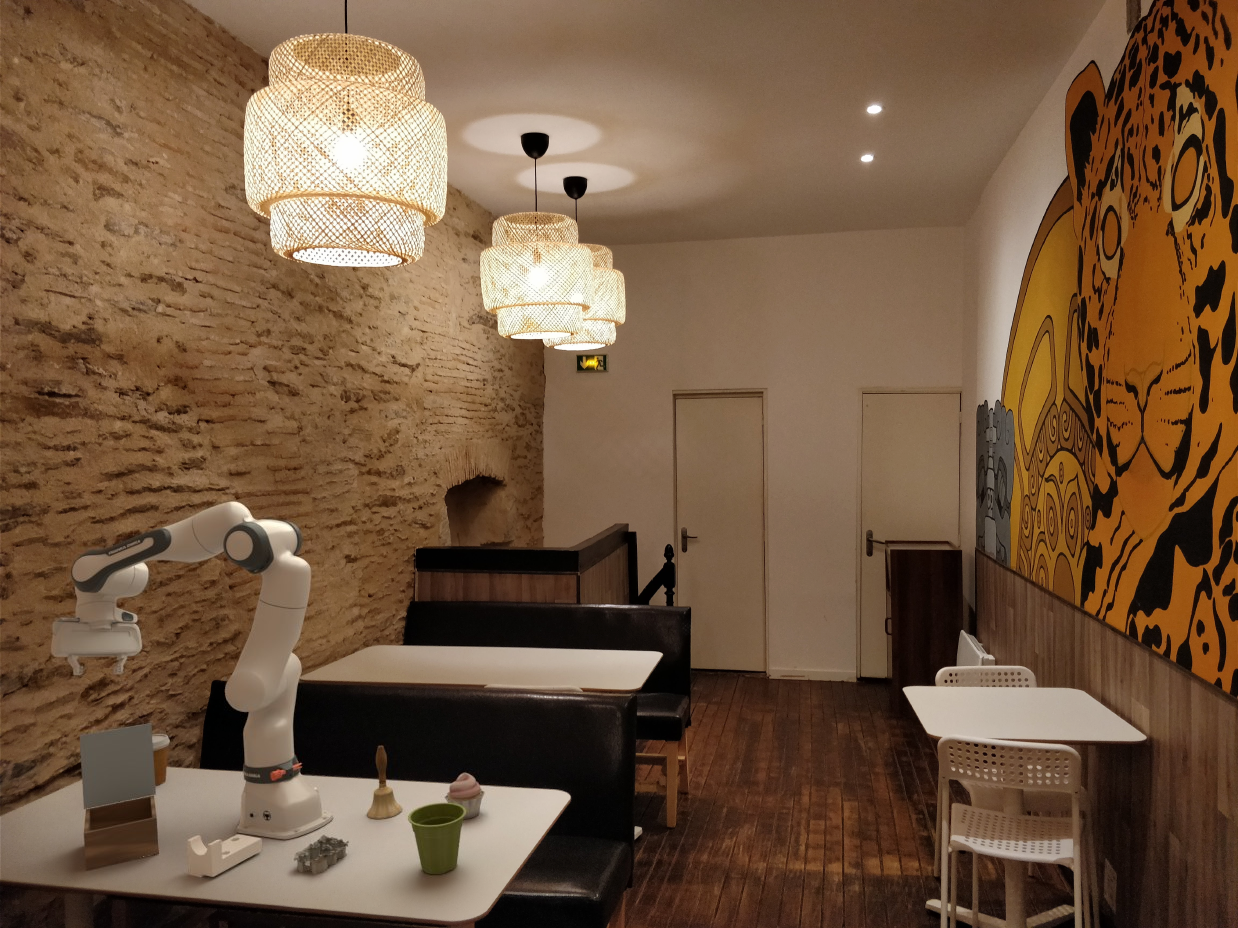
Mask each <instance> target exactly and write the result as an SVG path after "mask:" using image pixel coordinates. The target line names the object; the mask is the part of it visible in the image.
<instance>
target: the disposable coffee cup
mask: <svg viewBox="0 0 1238 928" xmlns="http://www.w3.org/2000/svg"><path fill="white" fill-rule="evenodd" d="M152 742H153V758H154V773H155V787H156V786H160V785H162V784H164V783H166V780H167V769H168V754H169V745H170V742H171V740H170V738H169V736H168V735H167V734H163V733H157V734H155V733H154V734H152Z"/></svg>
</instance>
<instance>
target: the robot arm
mask: <svg viewBox="0 0 1238 928" xmlns="http://www.w3.org/2000/svg"><path fill="white" fill-rule="evenodd" d="M303 541H304V540H303V534H302V532H301V530H300V528H299V527H298V526H297V525H296V524H295V523H292V522H290V521H288V520H284V519H282V518H281V519H279V518H269V517H268V518H267V517H263V518H262V519H256V518H254V517H253V516H252V513H251V512H250V510H249V508H247V507H246V505H244V504H243V503H240V502H239V501H228V502H223V503H220V504H217V505H214V506H212V507H209V508H207V509H204V510H202V511H200V512H198V513H195V514H194V515H192V516H189V517H188V518H184V519H183V520H180V521H178V522H175V523H173V524H169V525H166V526H163V527H161V528H156V529H153V530H151V531H148V532H145V533H141V534H138V535H137V536H134V537H131V538H129V539H127V540H124V541H122V542H119V543H117V544H116V543H115V544H114V545H112V546H109V547H106V548H102V549H89V550H86V551H85V552H83V553H82V554H81V555H79V556H78V557H77V558H76V559H75V560H74V562H73V563H72V566H71V570H70V577H71V580H72V583H73V584H74V593H75V595H76V604H75V617H58V618H56V619H55V620H53V621H52V624H51V633H52V637H51V638H52V639H51V645H50V654H51V655H52V656H53V657H55V658H66V657H67V663H68V664H69V665H70V666H71V669H72V670H73V671H72V672H73V673H72V674H73V676H81V675H83V674H84V665H80V663H79V662H78V659H79V658H81V657H82V658H83V657H84V658H85V657H86V658H87V657H94V658H95V657H99V658H100V657H116V660H117V661H118V663H117V665H115V666H113V667H112V670H113V672H112V673H113V674H114V675H121V674H123V672H124V665H125V663H126V662H127V660H128V657H133V656H136V655H137V654H139V653H140V652H141V651H142V648H143V642H142V634H141V631H140V628H139V626H138V625H137V624H136V623H137V622H138V615H137V614H135V613H132V612H129V611H127V610H124V609H121V608H119V607H117V600H118V599H121V598H123V599H124V598H126V599H127V598H132V597H137V596H139V595H140V594H142V593H143V592H144V591H145V590H146V589H147V587H148V585H149V583H150V582H149V581H150V577H151V575H150V570H149V567H148V565H147V564H146V562H150V561H174V562H183V563H198V562H203V561H206V560H209V559H211V558H213V557H216V556H218V555H220V554H221V553H223V552H224V554H225V556H226V558H227V559H228V560H229V561H230V562H231V563H232V564H234V565H236V566H238V567H241V568H242V569H244V570H246V571H247V572H248V573H250V574H252V575H258V574H260V575H261V579H262V584H261V589H260V592H259V593H260V594H259V597H258V600H257V605H256V609H255V612H254V613H255V614H254V618H253V622H252V627H251V630H250V632H249V635H248V637H247V640H246V642H245V644H244V647H243V649H242V651H241V653H240V656H239V659H238V661H237V663H236V666H235V668H234V669H233V672H232V674H231V675H230V677H229V679H228V680H227V681H226V683H225V689H224V693H225V694H224V695H225V698H226V701H227V702H228V704H229V705H230V707H232V708H233V709H234V710H236V711H239V712H244V713H247V712H248V716H247V718H246V719H247V720H246V722H245V725H244V728H243V733H242V736H243V748H244V749H243V751H244V762H243V765H242V766H243V767H242V773H243V780H244V782H245V783H244V787H243V790H242V792H241V801H240V823H239V824H238V826H237V827H236V832H237V833H239V834H243V835H245V834H246V835H251V836H259V837H266V838H271V839H276V840H277V839H279V840H290V839H293V838H298V837H300V836H303V835H307V834H309V833H311V832H313V831H315V830H318V829H319V828H321V827H323V826H326V825H327V824H329V823H330V822H331V821H332V820H333V819H334V815H333V814H334V813H332V812H330V811H328V810H326V809H324V808H323V807H322V800H321V796H320V794H319V790H318V787H316V786H312V785H311V784H310V782H309V781H308V780H307V779H306V778H305V776H303V775H302V774H301V769H302V768H303V766H301V765H302V764H303V763H302V762H300V763H299V761H298V758H297V755H296V754H295V748H294V746H295V745H294V713H295V706H296V699H297V691H298V690H297V689H298V684H299V681H300V678H301V676H302V675H301V674H302V670H303V669H302V663H301V660H300V659H299V657H298V656H297V655H296V654H295V653H293V650H294V648H295V646H296V644H297V643H298V641H299V639H300V637H301V633H302V629H303V625H304V620H305V616H306V611H307V608H308V602H309V599H310V598H309V597H310V591H311V583H312V582H311V581H312V580H311V579H312V568H311V566H310V564H309V562H307V561H306V560H305V559H303V558H301V557H299V556H297V555H298V554H299V553H300V551H301V549H302V546H303Z"/></svg>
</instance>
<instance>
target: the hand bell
mask: <svg viewBox="0 0 1238 928" xmlns="http://www.w3.org/2000/svg"><path fill="white" fill-rule="evenodd" d="M387 758H388V757H387V753H386V750H385V748H384V745H378V746H377V750H376V754H375V764H376V765H375V766H376V769H377V771H378V788H376V789H374V790H373V795H372V796H373V797H372V798H373V799H372V803H371V806H370V808H369V809H368V811H367V812H366V816H367V817H368V818H369V819H374V820H384V819H388V818H392V817H395V816H397V815H399V814H400V813H401V812H402V811H403V808H402V805H400V804H399V803H398V802H397V800H396V799H395V795H394V789H393V788H392V787H390V786H387V776H386V775H387V774H386V771H387V765H388V760H387Z"/></svg>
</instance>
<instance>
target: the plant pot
mask: <svg viewBox="0 0 1238 928" xmlns="http://www.w3.org/2000/svg"><path fill="white" fill-rule="evenodd" d="M465 814H466V809H465V808H464V807H463V806H461V805H459V804H455V803H448V802H437V803H435V802H434V803H430V804H426V805H423V806H420V807H416V808H415V809H414V810H412V811H410V813H409V814H408V815H407V821H408V822H409V823H410V824H411V828H412V831H413V833H414V838H415V842H416V846H417V852H418V856H419V857H418V858H419V861H420V867H421V871H424V872H425V873H427V874H429V875H442V874H446V873H447V872H448V871H452V870H454V869H455V868H456V867H457V866H458V857H459V849H460V842H461V841H460V840H461V834H462V826H463V825H464V824H463V823H464V819H463V817H464V816H465Z"/></svg>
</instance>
